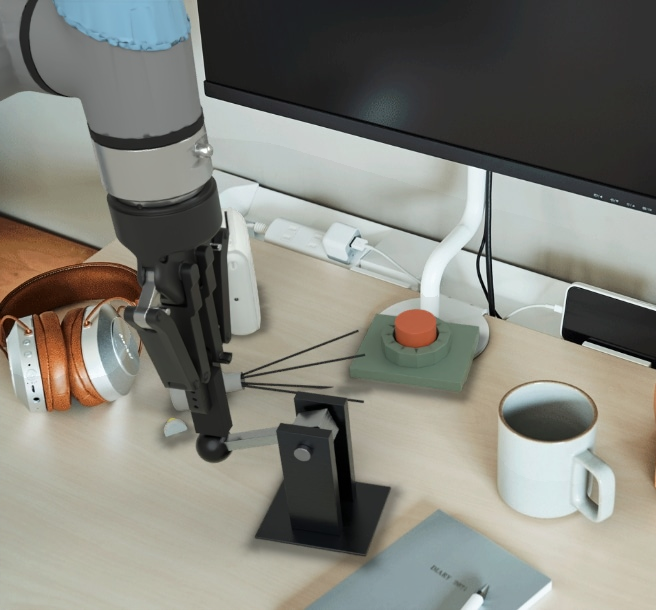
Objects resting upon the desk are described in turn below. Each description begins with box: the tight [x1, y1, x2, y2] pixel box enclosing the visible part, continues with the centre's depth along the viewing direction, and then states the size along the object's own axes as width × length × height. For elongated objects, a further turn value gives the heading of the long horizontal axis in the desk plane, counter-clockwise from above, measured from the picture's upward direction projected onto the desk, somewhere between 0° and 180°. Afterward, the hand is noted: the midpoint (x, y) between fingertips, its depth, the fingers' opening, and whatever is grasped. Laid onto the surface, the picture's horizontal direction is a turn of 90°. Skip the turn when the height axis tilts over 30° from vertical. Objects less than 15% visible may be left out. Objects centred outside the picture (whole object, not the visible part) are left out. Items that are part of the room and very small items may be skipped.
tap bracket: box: [254, 390, 392, 557], centre depth 79 cm, size 10×8×13 cm
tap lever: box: [195, 409, 339, 464], centre depth 78 cm, size 13×3×3 cm, turn 79°
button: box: [395, 308, 436, 348], centre depth 99 cm, size 4×4×2 cm
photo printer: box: [221, 207, 262, 336], centre depth 105 cm, size 10×4×12 cm, turn 16°
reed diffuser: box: [163, 329, 365, 437], centre depth 94 cm, size 10×7×20 cm
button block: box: [349, 313, 480, 393], centre depth 100 cm, size 12×10×4 cm
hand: (214, 429), depth 79 cm, fingers closed
